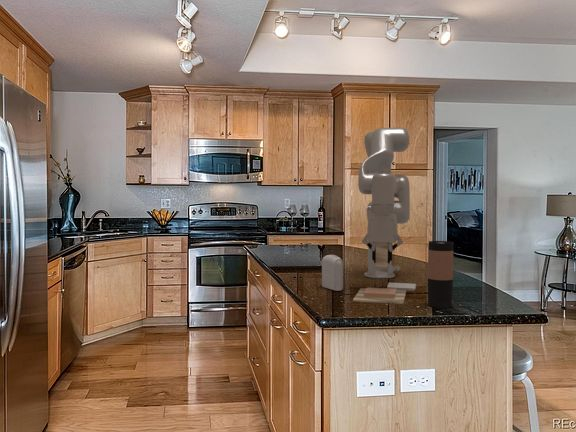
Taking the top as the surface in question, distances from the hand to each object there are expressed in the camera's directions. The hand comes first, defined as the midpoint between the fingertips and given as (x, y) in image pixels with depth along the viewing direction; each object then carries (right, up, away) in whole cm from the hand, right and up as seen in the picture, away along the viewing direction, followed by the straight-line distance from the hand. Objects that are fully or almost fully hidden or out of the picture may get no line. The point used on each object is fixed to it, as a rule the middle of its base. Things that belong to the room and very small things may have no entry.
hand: (382, 262), depth 185 cm
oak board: (-1, -11, -3) cm, 12 cm away
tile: (-1, -10, -4) cm, 11 cm away
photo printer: (-16, -11, +11) cm, 22 cm away
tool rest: (+10, -11, +13) cm, 20 cm away
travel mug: (+15, -12, -17) cm, 26 cm away
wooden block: (0, -4, 0) cm, 4 cm away
